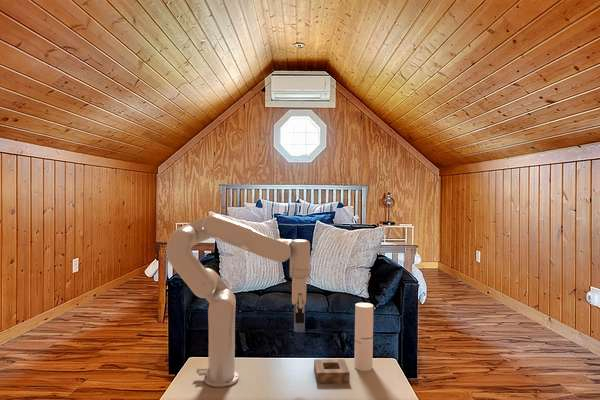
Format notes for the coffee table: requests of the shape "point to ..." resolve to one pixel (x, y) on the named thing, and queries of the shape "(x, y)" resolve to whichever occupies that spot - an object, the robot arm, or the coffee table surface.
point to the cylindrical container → (363, 336)
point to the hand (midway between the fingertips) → (299, 320)
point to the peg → (299, 326)
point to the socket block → (331, 371)
